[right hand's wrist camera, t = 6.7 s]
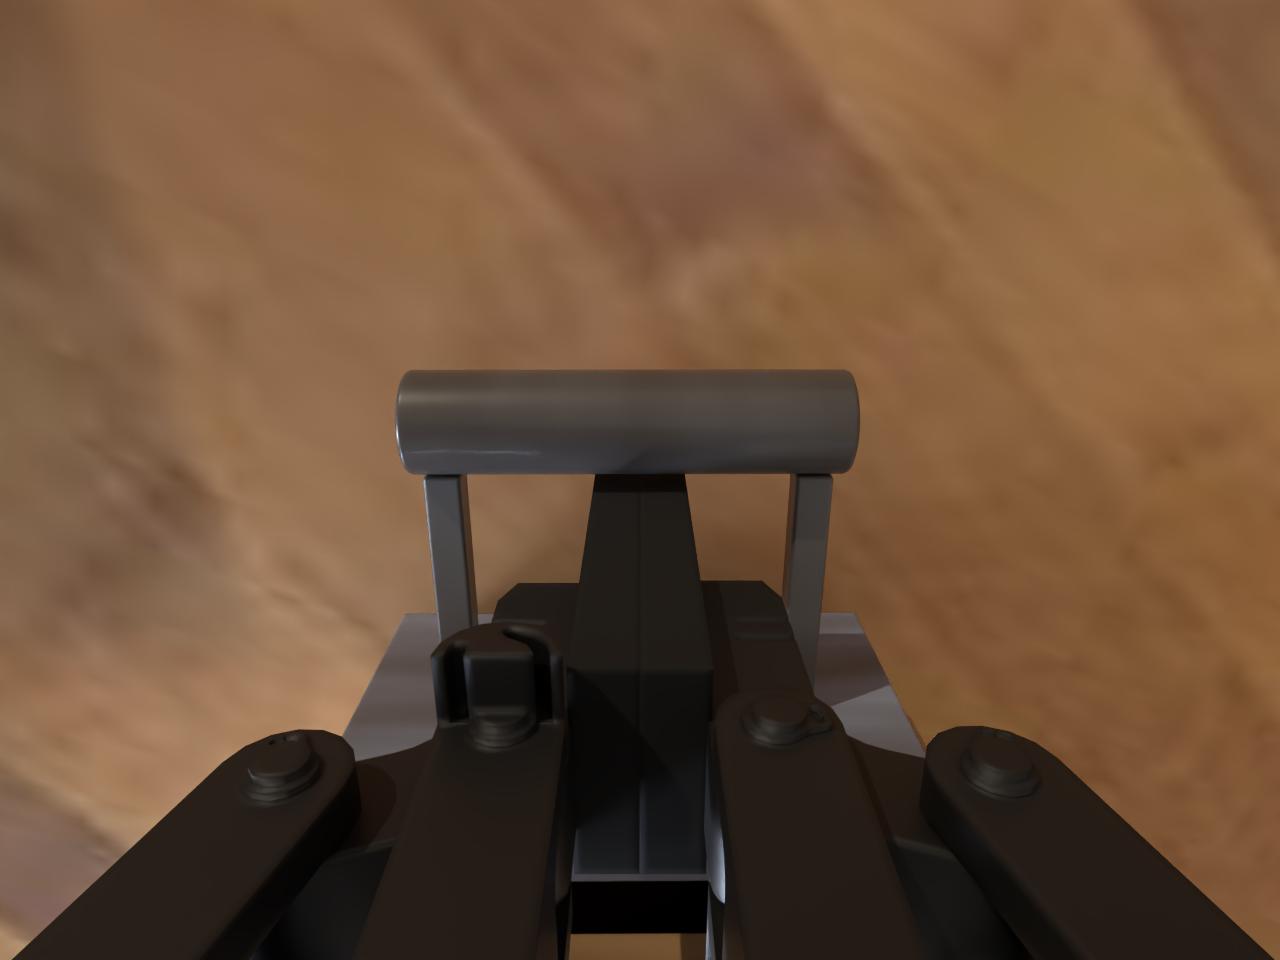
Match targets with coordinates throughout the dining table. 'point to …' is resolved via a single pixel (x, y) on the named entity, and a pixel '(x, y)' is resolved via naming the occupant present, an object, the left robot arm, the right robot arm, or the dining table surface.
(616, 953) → the cabinet
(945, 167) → the dining table surface
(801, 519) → the drawer
